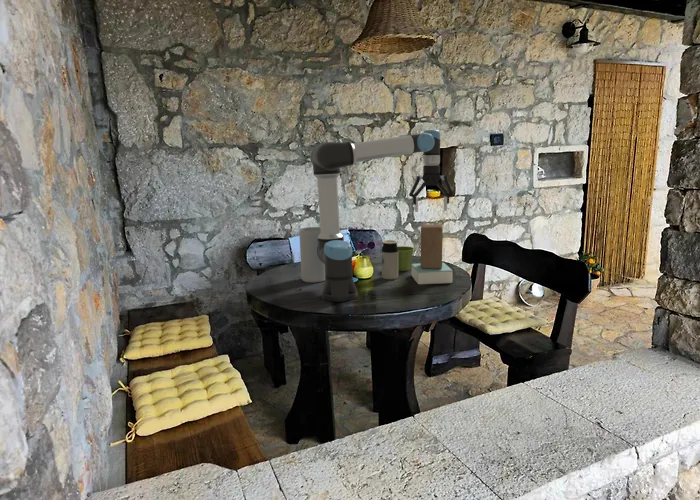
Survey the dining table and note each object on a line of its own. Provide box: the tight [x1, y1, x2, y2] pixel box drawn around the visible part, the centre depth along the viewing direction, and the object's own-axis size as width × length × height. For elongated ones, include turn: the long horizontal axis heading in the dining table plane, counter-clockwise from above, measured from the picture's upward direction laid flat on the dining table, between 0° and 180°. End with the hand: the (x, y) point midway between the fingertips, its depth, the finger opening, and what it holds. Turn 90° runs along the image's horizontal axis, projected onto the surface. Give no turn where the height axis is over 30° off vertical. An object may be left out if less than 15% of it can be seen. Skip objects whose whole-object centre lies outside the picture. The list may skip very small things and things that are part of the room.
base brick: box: [411, 262, 454, 285], centre depth 224 cm, size 16×16×6 cm
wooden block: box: [420, 223, 444, 269], centre depth 221 cm, size 10×10×20 cm
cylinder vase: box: [298, 226, 325, 284], centre depth 227 cm, size 12×12×25 cm
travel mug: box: [381, 239, 399, 280], centre depth 228 cm, size 8×8×18 cm
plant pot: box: [397, 245, 415, 272], centre depth 244 cm, size 12×12×11 cm
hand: (430, 211), depth 218 cm, fingers open, 13 cm apart
